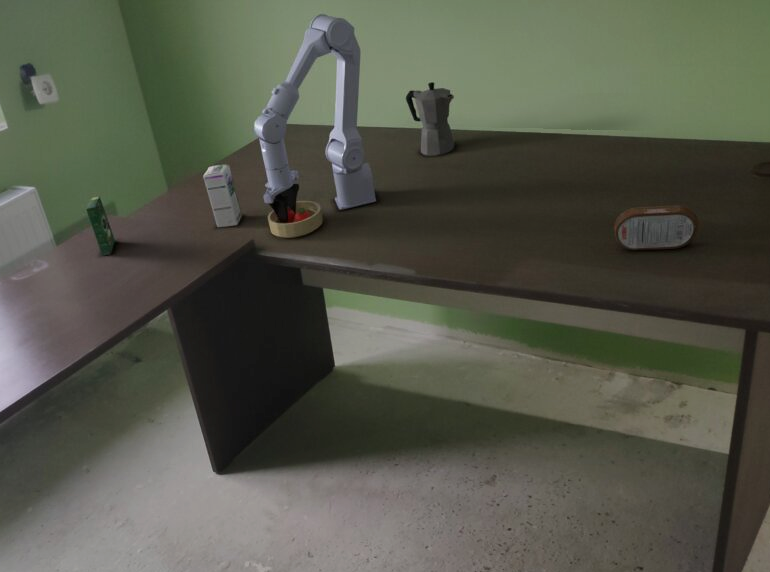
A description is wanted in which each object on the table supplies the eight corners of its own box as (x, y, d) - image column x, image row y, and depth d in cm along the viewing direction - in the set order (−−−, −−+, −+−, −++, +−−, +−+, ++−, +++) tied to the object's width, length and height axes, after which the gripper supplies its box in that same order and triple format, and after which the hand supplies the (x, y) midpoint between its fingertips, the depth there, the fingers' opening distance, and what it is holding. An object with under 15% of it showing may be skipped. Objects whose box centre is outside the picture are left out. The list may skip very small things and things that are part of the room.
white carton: (237, 225, 224) (224, 171, 216) (216, 228, 226) (202, 174, 217) (242, 216, 228) (229, 163, 220) (221, 218, 230) (207, 166, 222)
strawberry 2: (310, 220, 215) (307, 205, 213) (312, 226, 212) (309, 211, 210) (295, 224, 215) (292, 209, 213) (297, 230, 212) (294, 214, 210)
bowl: (319, 211, 221) (316, 196, 218) (326, 231, 210) (324, 216, 208) (268, 223, 221) (265, 208, 219) (273, 244, 210) (270, 229, 208)
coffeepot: (467, 145, 235) (462, 77, 224) (447, 158, 230) (441, 90, 220) (422, 140, 245) (415, 75, 234) (401, 153, 240) (393, 87, 230)
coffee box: (105, 242, 233) (89, 197, 226) (115, 240, 233) (100, 194, 225) (101, 255, 227) (84, 209, 219) (111, 253, 227) (95, 206, 219)
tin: (695, 242, 170) (699, 202, 165) (696, 249, 168) (700, 209, 163) (613, 245, 176) (614, 207, 171) (613, 253, 174) (614, 214, 169)
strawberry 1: (290, 218, 218) (287, 203, 216) (299, 222, 216) (296, 206, 213) (278, 224, 217) (275, 209, 214) (287, 228, 214) (284, 212, 212)
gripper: (276, 153, 214) (286, 205, 222) (248, 178, 205) (260, 230, 213) (301, 153, 211) (311, 205, 219) (274, 178, 201) (285, 231, 209)
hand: (287, 218), depth 215 cm, fingers closed on strawberry 1, 3 cm apart
